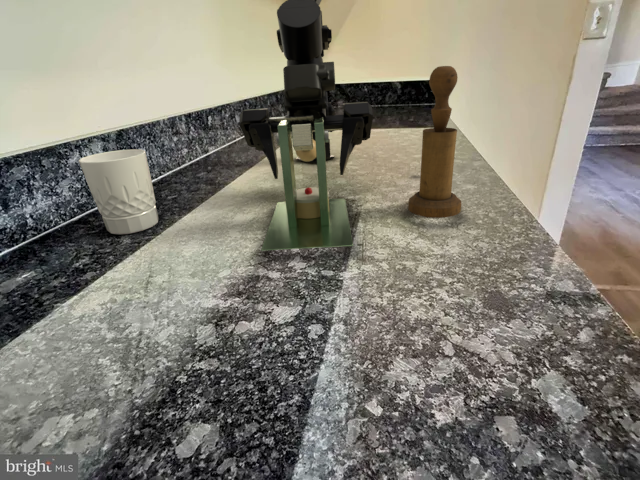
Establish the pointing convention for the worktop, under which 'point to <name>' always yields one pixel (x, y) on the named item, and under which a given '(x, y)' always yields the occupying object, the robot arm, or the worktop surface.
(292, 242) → the slicer bracket
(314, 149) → the lever
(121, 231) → the white cup
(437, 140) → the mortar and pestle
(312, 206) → the cake
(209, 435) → the worktop surface
